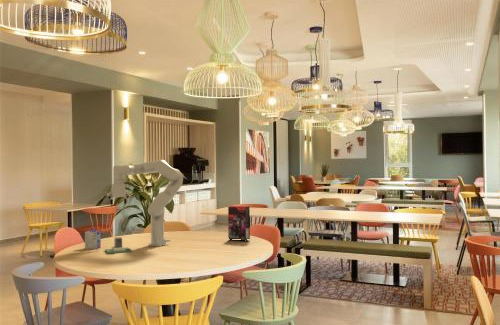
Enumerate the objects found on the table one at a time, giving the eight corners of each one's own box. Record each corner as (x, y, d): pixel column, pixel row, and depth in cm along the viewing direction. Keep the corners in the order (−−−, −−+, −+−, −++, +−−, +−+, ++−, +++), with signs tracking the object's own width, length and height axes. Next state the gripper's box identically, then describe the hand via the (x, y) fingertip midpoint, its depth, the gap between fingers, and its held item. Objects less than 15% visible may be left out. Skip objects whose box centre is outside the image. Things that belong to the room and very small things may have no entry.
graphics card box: (227, 240, 357) (227, 206, 358) (232, 239, 363) (232, 205, 364) (245, 242, 348) (245, 206, 349) (250, 240, 354) (250, 206, 355)
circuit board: (128, 249, 319) (128, 244, 319) (131, 251, 307) (131, 247, 307) (104, 250, 312) (104, 246, 312) (107, 253, 300) (107, 249, 300)
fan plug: (120, 248, 313) (120, 237, 313) (122, 250, 305) (122, 238, 305) (114, 249, 312) (114, 237, 312) (116, 251, 303) (116, 239, 304)
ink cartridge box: (101, 247, 325) (101, 227, 325) (97, 249, 320) (97, 228, 320) (88, 247, 327) (88, 227, 327) (84, 248, 322) (84, 228, 322)
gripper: (129, 181, 345) (129, 203, 345) (105, 182, 338) (105, 204, 337) (131, 181, 339) (131, 204, 338) (107, 182, 331) (107, 205, 331)
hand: (118, 204), depth 338 cm, fingers open, 9 cm apart
